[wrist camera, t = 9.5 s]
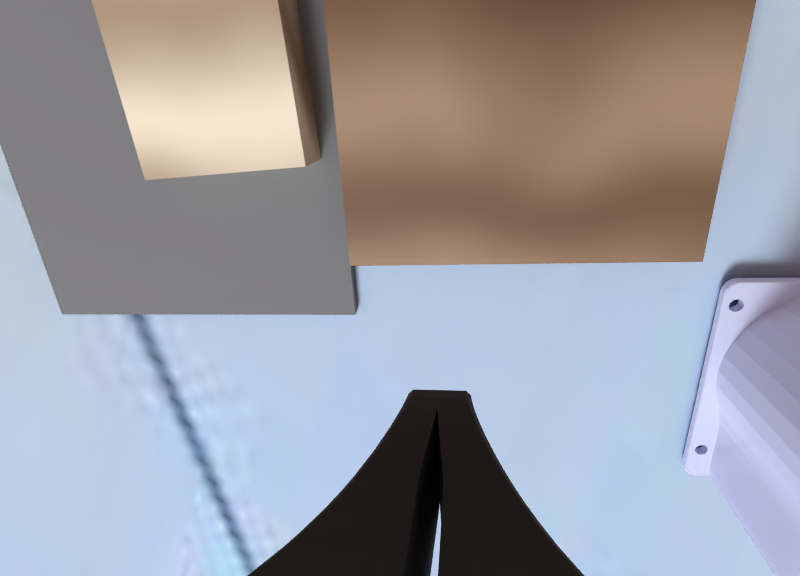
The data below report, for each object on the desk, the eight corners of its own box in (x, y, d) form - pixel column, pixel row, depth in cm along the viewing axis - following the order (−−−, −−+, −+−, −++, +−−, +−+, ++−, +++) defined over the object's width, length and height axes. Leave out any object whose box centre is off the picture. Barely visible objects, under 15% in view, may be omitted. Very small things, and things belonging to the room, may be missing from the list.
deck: (671, 239, 18) (702, 261, 16) (362, 244, 19) (349, 265, 17) (778, -373, 12) (855, -484, 10) (314, -297, 13) (285, -376, 11)
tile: (321, 158, 18) (305, 166, 16) (175, 171, 19) (144, 180, 17) (274, -142, 14) (248, -175, 13) (99, -110, 15) (50, -136, 14)
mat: (357, 310, 21) (355, 314, 20) (68, 310, 22) (62, 314, 22) (282, -455, 12) (276, -470, 12) (-171, -359, 14) (-188, -371, 14)
